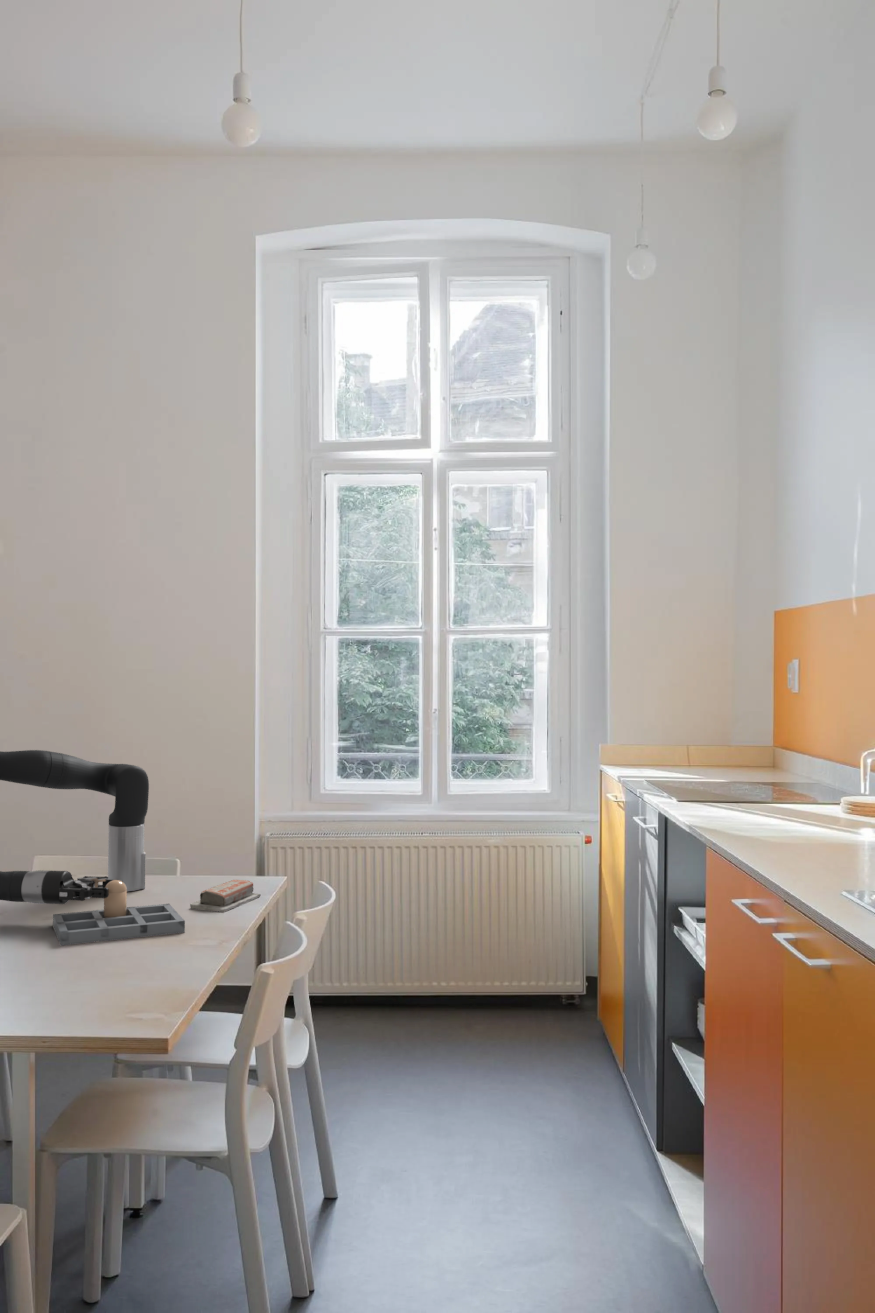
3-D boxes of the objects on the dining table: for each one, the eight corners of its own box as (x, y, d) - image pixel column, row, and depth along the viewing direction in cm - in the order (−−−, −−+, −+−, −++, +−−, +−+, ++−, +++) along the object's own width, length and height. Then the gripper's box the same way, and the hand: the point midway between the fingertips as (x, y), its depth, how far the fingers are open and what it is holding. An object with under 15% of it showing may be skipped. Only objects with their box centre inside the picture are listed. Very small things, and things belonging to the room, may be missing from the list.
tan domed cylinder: (124, 918, 230) (125, 877, 230) (127, 923, 225) (128, 881, 225) (102, 920, 227) (102, 878, 228) (105, 925, 223) (105, 883, 223)
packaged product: (227, 877, 260) (261, 880, 256) (227, 895, 260) (260, 898, 256) (189, 891, 243) (224, 894, 239) (189, 910, 242) (224, 914, 239)
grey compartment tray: (168, 914, 237) (169, 903, 237) (184, 932, 221) (184, 920, 221) (52, 925, 225) (53, 914, 225) (60, 945, 209) (60, 933, 209)
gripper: (33, 877, 221) (103, 879, 220) (61, 864, 235) (127, 866, 234) (32, 910, 221) (102, 912, 219) (60, 896, 235) (126, 898, 234)
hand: (115, 888), depth 227 cm, fingers open, 8 cm apart
